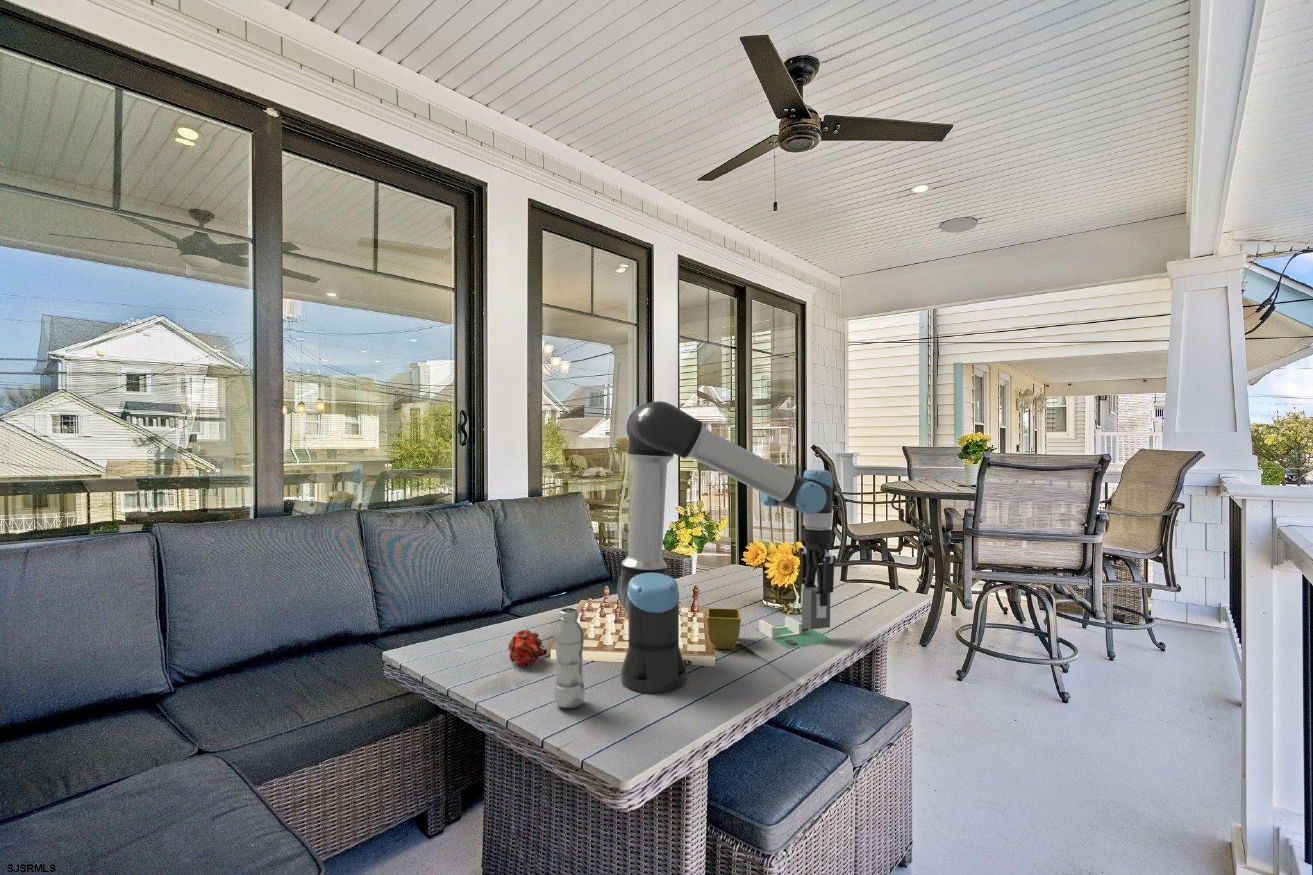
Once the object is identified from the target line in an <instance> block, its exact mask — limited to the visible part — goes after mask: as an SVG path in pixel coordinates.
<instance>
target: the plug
mask: <svg viewBox="0 0 1313 875" xmlns="http://www.w3.org/2000/svg"><path fill="white" fill-rule="evenodd" d="M822 589H823V588H822ZM816 592H818V586H816V587H808V588H805V587H802V600H801V601H802V605H801V606H802V607H801V608H802V609H801V610H802V612H801V613H802V614H801V615H802V616H801V618H802V619H801V623H802V625H803V626H805V627H807V628H809V629H813V630H818V629H829V628H831V593H828V594H827V606H826V618H816Z"/></svg>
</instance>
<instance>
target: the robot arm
mask: <svg viewBox="0 0 1313 875" xmlns="http://www.w3.org/2000/svg"><path fill="white" fill-rule="evenodd" d="M626 433H627V436H628V445H627V446H628V448H627V456H628V457H629V458H630V459H631V461H632V462H633V463H632V465H633V466H632V478H631V479H632V480H631V481H632V482H631V497H630V498H631V501H630V518H629V530H628V531H629V533H628V549H627V554H628V555H627V557H626V558H624V559H623V560H622V561H621V567H620V568H621V570H620V576H619V578H618V581H617V582H618V583H617V587H616V590H617V597H618V600H619V602H620V605H621V606H622V608H623V609H624V610H625V613H626V614H627V618H628V621H627V624H628V629H627V632H628V647H627V651H626V654H625V657H624V660H623V663H622V666H621V670H620V671H621V672H620V681H621V683H622V685H623V686H624V687H626V688H628V689H630V690H632V691H635V692H641V693H648V694H656V693H657V694H659V693H660V694H661V693H667V692H673V691H676V690H677V689H680V688H681V687H683V686H684V685H686V682H687V680H688V678H687V667H686V665H685V662H684V658H683V655H682V652H681V649H680V645H679V644H680V643H679V642H680V638H679V636H680V634H679V633H680V632H679V631H680V630H679V629H680V627H679V622H680V620H679V618H680V615H679V612H680V611H679V610H680V609H679V608H680V605H679V604H680V602H679V599H680V591H679V584H678V583H677V581H676V579H675V578H673V577H672V576H670V575H668V574H667V573H668V563H667V562H666V560H664V559H663V557H662V556H663V555H662V554H663V543H664V542H663V540H664V526H665V525H664V523H665V522H664V521H665V510H666V509H665V505H666V492H667V491H666V488H667V473H668V472H667V471H668V464H669V462H670V461H672V460H673V458H674V457H675V456H678V457H679V458H682V459H688V458H692V459H693V460H695V461H697V462H699V463H701V464H703V465H706V466H708V467H709V468H712V469H713V470H716V471H718V472H720V473H722V474H724V475H726V476H727V477H730V478H732V479H734V480H736V481H738V482H740V483H742V484H744V485H746V486H748V487H749V488H752V489H753V490H756V491H758V492H759V498H760V502H761V503H762V504H763V505H764V506H766V507H783V508H787V509H790V510H794V511H798V512H800V513H802V525H803V528H802V542H803V543H805V546H804V547H799V548H798V552H799V556H800V562H799V563H800V564H799V565H800V570H799V571H800V574H799V575H800V577H799V578H800V579H799V580H800V584H801V585H803V588H808V587H818V592H816V618H826V606H827V594H828V593H830V594H831V593H833V592H834V580H835V578H834V577H835V564H836V560H837V558H836V557H837V556H836V555H832V554H831V553H830V550H829V545H830V544H831V543H832V540H833V536H832V534H833V530H832V529H831V528H832V527H833V523H832V522H833V494H834V493H833V491H834V480H833V474H832V472H831V471H829V470H826V469H825V470H823V469H822V470H821V469H807V470H804V472H803V476H802V477H800V476H798V475H796V474H794V473H792V472H790V471H788V470H787V469H785V468H783V467H781V466H779V465H777V464H775V463H773V462H771V461H769V460H767V459H765V458H764V457H761V456H759V455H758V454H756V453H754V452H752V451H750V450H747V449H746V448H743V447H742V446H741V445H738V444H736V443H734V442H732V441H730V440H728V439H726V438H725V437H722V436H720V435H718V434H717V433H714V432H712V431H711V430H709V429H707V428H705V425H704V422H702V421H701V420H698V419H696V418H695V417H694V416H692V415H690V414H688V413H686V412H685V411H684V410H681V409H680V408H678V407H677V406H675V405H673V404H671V403H668V402H665V401H657V400H656V401H652V402H646V403H643V404H641V405H639V406H637V407H636V408H635V409H633V411H632V412H630V414H629V417H628V419H627V422H626ZM674 455H675V456H674ZM816 580H817V585H816V583H815V582H816ZM822 588H823V589H822Z"/></svg>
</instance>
